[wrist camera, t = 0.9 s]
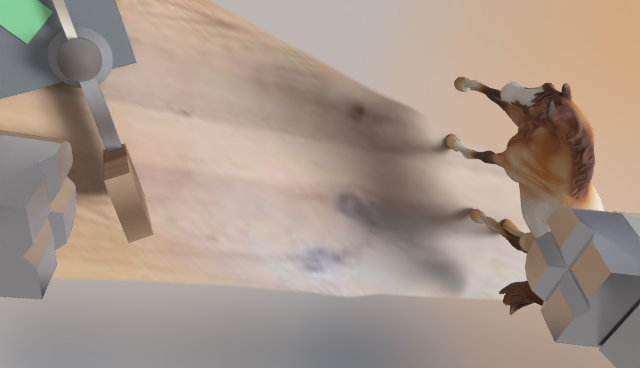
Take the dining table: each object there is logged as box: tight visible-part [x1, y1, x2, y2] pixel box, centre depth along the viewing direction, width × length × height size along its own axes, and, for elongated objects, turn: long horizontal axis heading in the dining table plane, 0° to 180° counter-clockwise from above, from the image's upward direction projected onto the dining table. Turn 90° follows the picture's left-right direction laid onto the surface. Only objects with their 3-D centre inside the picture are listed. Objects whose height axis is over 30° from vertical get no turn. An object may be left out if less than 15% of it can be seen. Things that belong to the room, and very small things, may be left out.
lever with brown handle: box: [52, 0, 153, 243], centre depth 40 cm, size 22×3×10 cm, turn 13°
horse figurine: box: [446, 77, 604, 315], centre depth 54 cm, size 31×8×21 cm, turn 24°
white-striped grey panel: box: [0, 0, 137, 99], centre depth 42 cm, size 14×14×1 cm
